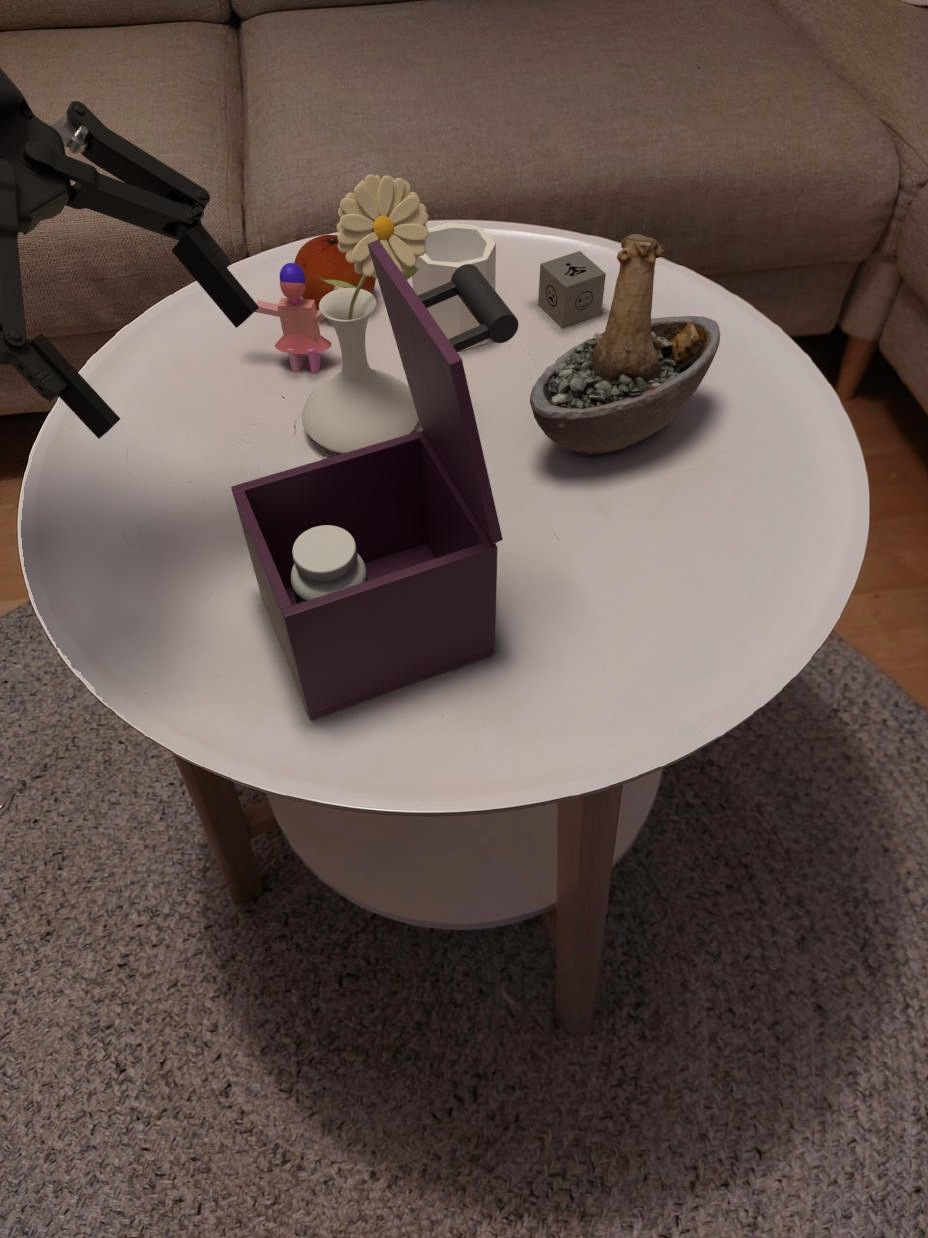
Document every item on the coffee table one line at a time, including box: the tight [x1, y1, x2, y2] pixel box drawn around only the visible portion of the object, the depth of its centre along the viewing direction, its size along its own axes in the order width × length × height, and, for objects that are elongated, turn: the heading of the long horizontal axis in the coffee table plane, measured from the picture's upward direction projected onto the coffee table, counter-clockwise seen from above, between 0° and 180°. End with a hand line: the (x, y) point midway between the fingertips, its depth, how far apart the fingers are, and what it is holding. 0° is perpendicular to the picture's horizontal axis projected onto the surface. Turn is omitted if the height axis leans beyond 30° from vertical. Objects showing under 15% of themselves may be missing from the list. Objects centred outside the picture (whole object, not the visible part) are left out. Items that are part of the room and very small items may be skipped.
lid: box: [368, 240, 519, 544], centre depth 66 cm, size 16×14×6 cm
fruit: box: [293, 234, 377, 311], centre depth 106 cm, size 9×9×8 cm
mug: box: [411, 221, 497, 352], centre depth 103 cm, size 12×9×10 cm
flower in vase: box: [301, 173, 429, 454], centre depth 86 cm, size 13×11×25 cm
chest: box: [230, 429, 498, 721], centre depth 76 cm, size 16×14×13 cm
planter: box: [529, 233, 721, 455], centre depth 87 cm, size 15×17×20 cm
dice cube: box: [537, 250, 607, 329], centre depth 105 cm, size 5×5×5 cm
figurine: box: [254, 262, 344, 374], centre depth 98 cm, size 3×12×11 cm, turn 87°
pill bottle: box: [291, 525, 368, 604], centre depth 75 cm, size 6×6×10 cm
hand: (183, 370), depth 65 cm, fingers open, 13 cm apart
